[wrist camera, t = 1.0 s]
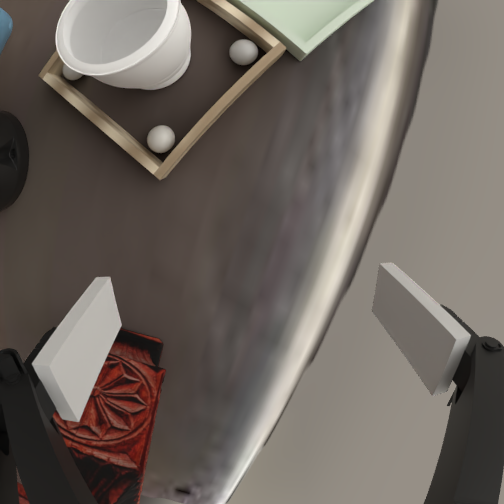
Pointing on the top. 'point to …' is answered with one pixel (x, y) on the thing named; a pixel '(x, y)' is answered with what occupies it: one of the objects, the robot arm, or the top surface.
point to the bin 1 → (160, 169)
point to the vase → (117, 421)
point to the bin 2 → (300, 20)
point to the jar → (126, 41)
